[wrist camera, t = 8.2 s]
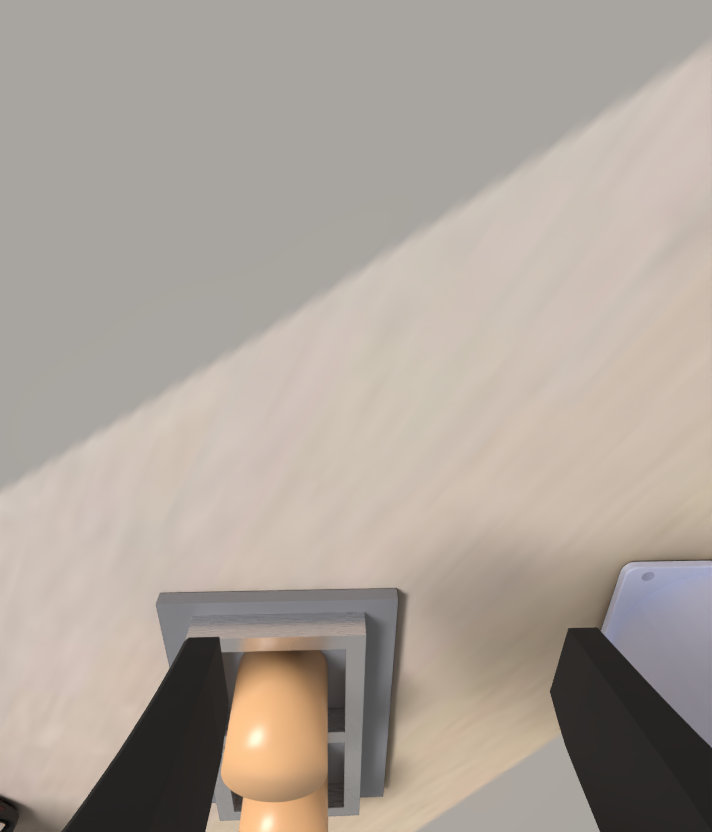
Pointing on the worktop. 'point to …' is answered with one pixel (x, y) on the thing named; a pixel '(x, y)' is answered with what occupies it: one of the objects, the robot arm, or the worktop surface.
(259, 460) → the worktop surface
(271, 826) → the frame
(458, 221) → the worktop surface
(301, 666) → the peach rounded capsule
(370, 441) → the worktop surface
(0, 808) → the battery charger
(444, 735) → the worktop surface
